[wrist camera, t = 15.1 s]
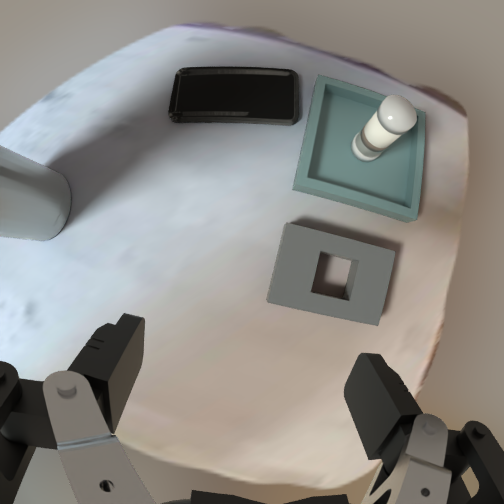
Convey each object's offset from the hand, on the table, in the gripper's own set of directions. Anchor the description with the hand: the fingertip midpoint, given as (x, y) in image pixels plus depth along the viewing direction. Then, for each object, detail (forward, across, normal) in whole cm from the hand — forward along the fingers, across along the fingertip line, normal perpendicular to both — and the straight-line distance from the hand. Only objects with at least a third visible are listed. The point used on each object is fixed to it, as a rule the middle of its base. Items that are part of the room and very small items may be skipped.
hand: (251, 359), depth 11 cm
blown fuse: (+25, -12, -11) cm, 30 cm away
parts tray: (+26, -12, -11) cm, 30 cm away
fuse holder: (+21, -10, +3) cm, 24 cm away
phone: (+29, +4, -14) cm, 32 cm away
